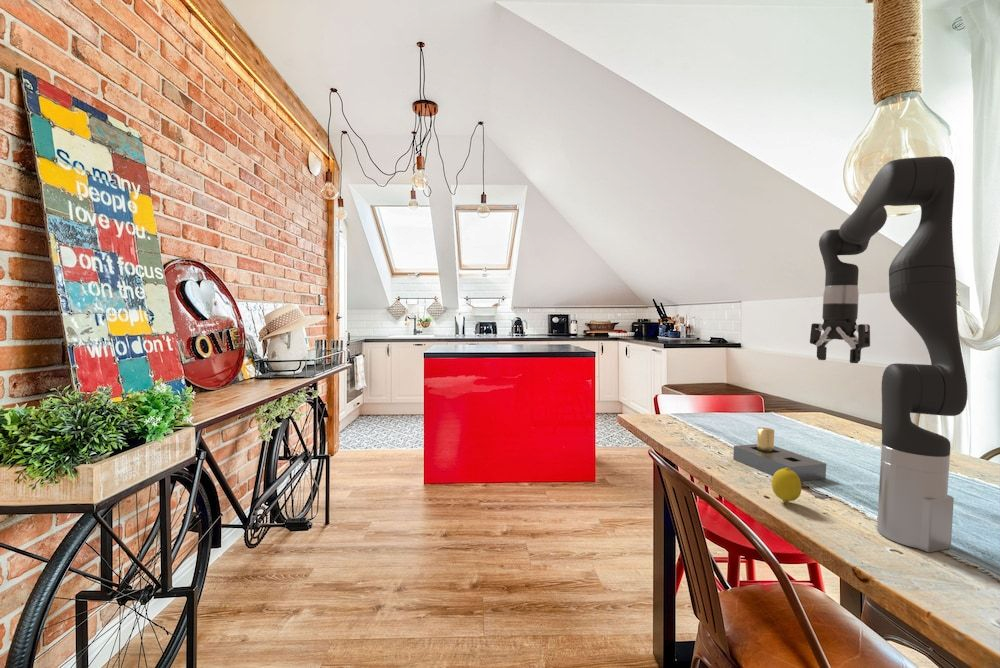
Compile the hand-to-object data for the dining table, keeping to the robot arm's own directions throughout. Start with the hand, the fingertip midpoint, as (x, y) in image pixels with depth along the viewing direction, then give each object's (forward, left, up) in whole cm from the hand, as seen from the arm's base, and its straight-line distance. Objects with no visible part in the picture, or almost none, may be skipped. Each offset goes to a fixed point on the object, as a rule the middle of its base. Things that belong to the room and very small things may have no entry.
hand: (837, 361), depth 117 cm
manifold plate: (+4, +15, -30) cm, 34 cm away
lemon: (-14, +33, -30) cm, 47 cm away
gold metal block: (+8, +15, -30) cm, 35 cm away
